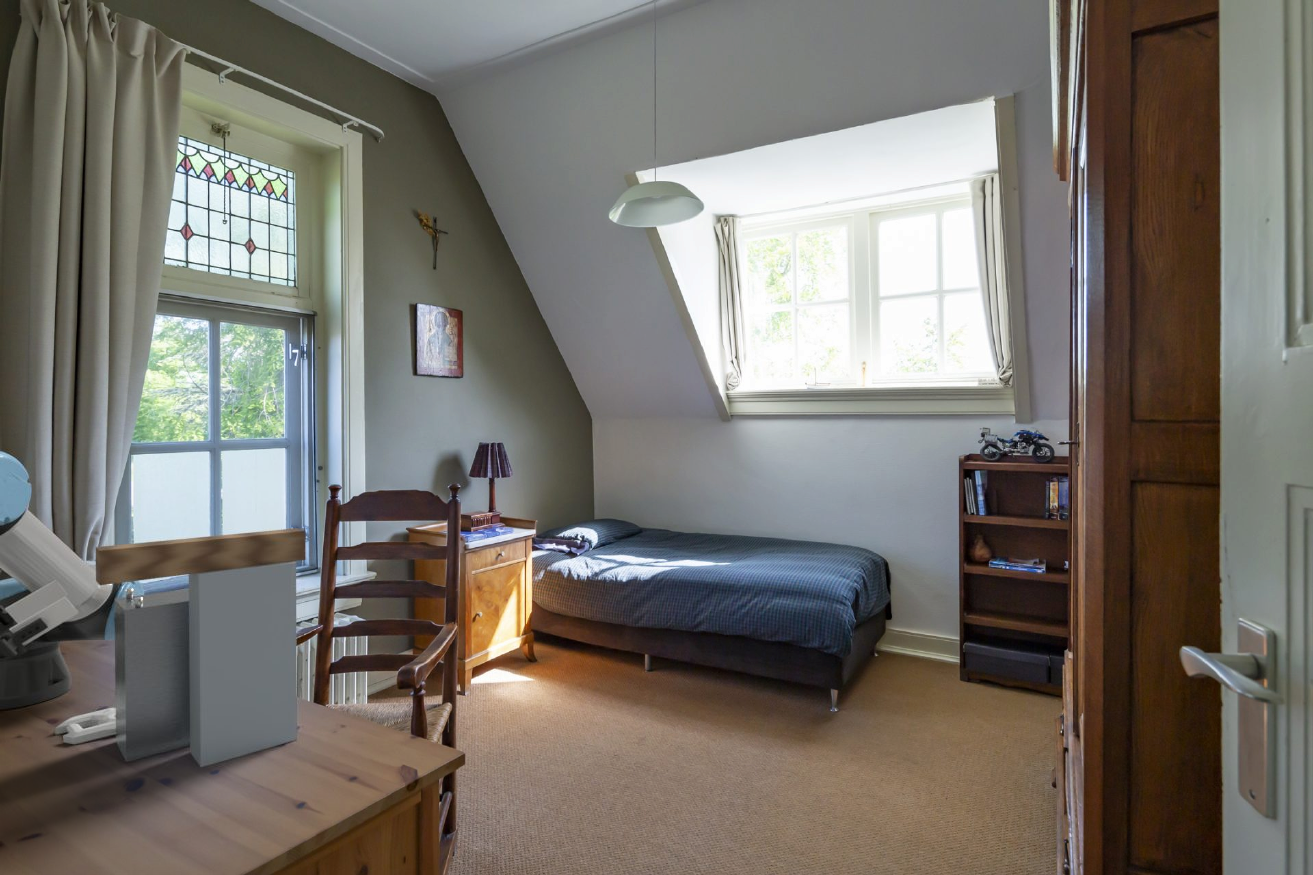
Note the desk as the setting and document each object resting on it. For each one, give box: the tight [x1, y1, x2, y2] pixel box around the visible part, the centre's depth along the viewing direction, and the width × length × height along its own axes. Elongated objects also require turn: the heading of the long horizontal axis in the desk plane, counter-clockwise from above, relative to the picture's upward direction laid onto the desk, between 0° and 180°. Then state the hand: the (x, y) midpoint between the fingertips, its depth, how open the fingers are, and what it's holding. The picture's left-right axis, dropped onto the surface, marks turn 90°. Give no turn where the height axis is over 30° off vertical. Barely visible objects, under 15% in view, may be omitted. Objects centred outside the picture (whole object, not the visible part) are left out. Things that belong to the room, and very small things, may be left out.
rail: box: [95, 527, 306, 585], centre depth 114 cm, size 28×4×5 cm, turn 134°
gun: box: [54, 707, 116, 745], centre depth 126 cm, size 18×3×10 cm
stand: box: [188, 561, 298, 768], centre depth 118 cm, size 7×14×30 cm, turn 134°
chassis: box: [114, 588, 190, 763], centre depth 122 cm, size 10×16×26 cm, turn 134°
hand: (67, 595), depth 102 cm, fingers open, 13 cm apart
